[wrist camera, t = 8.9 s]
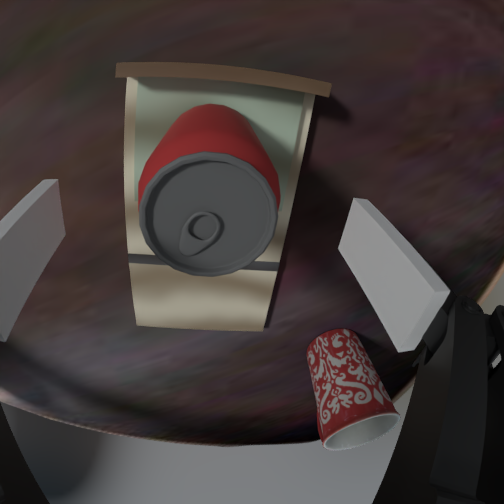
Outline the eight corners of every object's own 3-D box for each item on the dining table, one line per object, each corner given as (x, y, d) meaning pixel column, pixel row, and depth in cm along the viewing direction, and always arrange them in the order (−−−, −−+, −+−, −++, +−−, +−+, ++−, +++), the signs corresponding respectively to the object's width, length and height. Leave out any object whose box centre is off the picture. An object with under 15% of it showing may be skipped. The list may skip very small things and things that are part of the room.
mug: (316, 319, 36) (350, 419, 25) (375, 325, 38) (416, 410, 27) (279, 378, 42) (296, 463, 31) (333, 380, 45) (356, 456, 34)
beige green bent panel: (261, 324, 35) (266, 351, 32) (138, 318, 33) (132, 346, 30) (314, 80, 21) (331, 83, 18) (131, 62, 19) (116, 62, 16)
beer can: (150, 159, 22) (102, 245, 12) (198, 85, 19) (179, 104, 10) (222, 201, 25) (231, 307, 15) (273, 134, 22) (324, 200, 12)
